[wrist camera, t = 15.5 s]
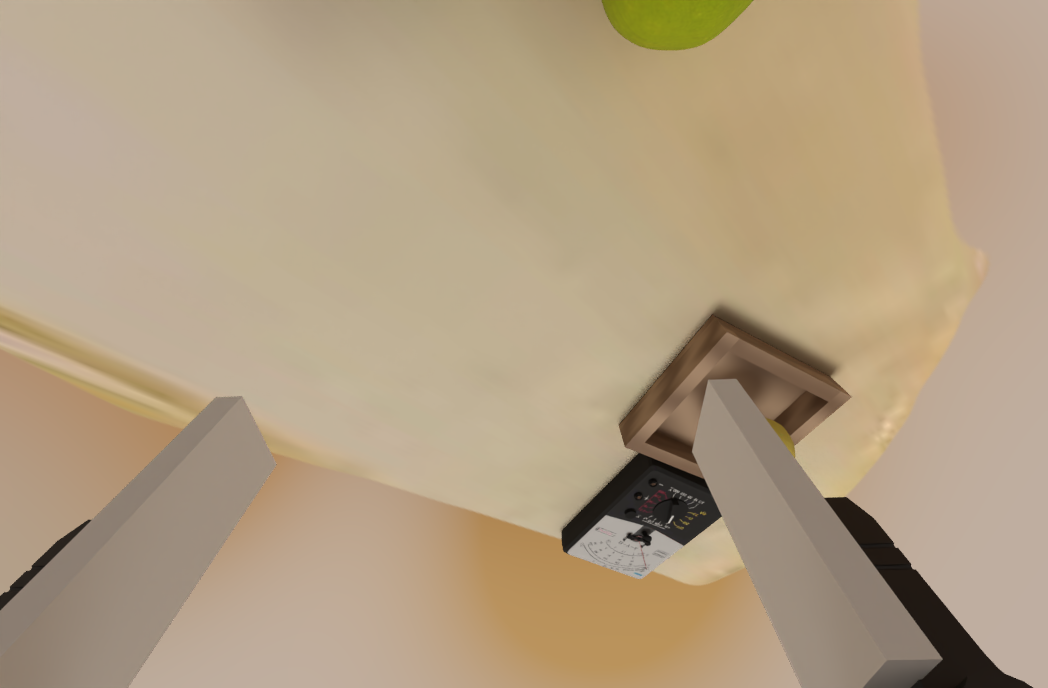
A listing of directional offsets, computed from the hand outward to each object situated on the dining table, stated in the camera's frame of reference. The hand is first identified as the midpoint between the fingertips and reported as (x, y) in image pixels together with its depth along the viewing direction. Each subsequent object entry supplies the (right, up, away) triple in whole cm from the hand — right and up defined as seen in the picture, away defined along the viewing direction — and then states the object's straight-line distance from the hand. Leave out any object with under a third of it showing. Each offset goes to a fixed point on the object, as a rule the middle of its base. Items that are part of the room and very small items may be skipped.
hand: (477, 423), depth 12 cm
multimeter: (+17, -19, +44) cm, 51 cm away
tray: (+23, -4, +34) cm, 41 cm away
